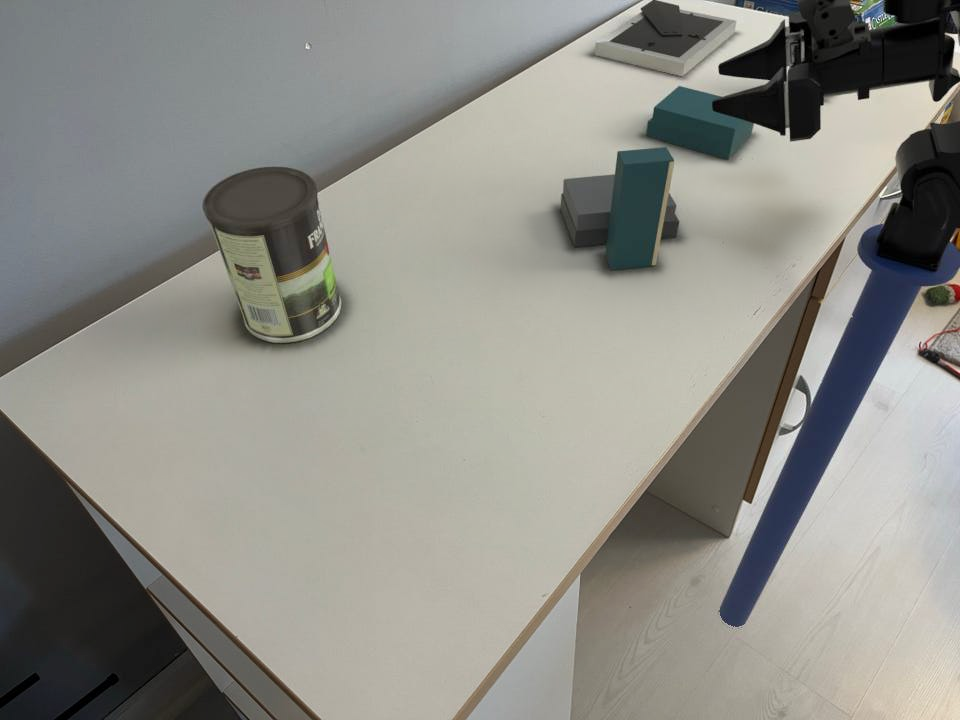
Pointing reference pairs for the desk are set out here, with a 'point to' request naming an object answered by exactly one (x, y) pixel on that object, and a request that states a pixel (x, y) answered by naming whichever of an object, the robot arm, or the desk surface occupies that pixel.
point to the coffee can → (275, 252)
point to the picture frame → (665, 38)
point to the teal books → (697, 124)
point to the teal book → (638, 207)
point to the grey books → (599, 210)
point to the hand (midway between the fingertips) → (715, 86)
